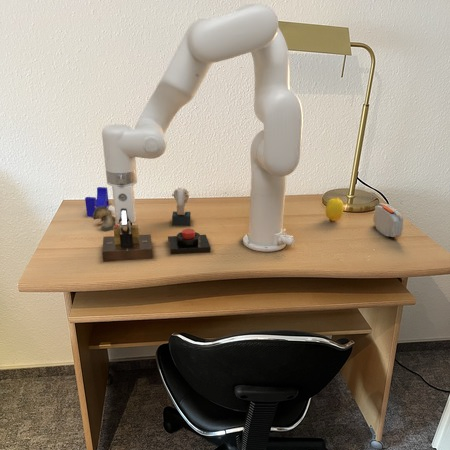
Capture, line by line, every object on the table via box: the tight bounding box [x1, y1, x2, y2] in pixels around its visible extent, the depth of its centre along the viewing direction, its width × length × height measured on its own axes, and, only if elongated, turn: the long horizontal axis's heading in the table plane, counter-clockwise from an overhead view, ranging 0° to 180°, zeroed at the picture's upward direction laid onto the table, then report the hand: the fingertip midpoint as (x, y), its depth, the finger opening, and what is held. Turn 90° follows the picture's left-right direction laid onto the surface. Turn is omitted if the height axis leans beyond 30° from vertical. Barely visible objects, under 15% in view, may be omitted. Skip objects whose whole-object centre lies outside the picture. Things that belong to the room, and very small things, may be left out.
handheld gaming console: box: [372, 202, 404, 238], centre depth 149 cm, size 14×3×8 cm, turn 12°
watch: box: [171, 187, 192, 227], centre depth 152 cm, size 6×8×11 cm
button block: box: [167, 231, 211, 256], centre depth 138 cm, size 11×9×4 cm
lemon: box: [325, 196, 344, 222], centre depth 157 cm, size 6×6×8 cm
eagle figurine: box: [92, 204, 117, 232], centre depth 150 cm, size 8×7×9 cm
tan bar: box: [113, 224, 140, 245], centre depth 132 cm, size 6×2×5 cm, turn 99°
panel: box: [101, 233, 154, 263], centre depth 134 cm, size 13×11×3 cm
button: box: [181, 228, 196, 239], centre depth 137 cm, size 4×4×2 cm
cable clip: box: [84, 186, 110, 218], centre depth 161 cm, size 12×4×6 cm, turn 172°
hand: (127, 240), depth 133 cm, fingers open, 7 cm apart
